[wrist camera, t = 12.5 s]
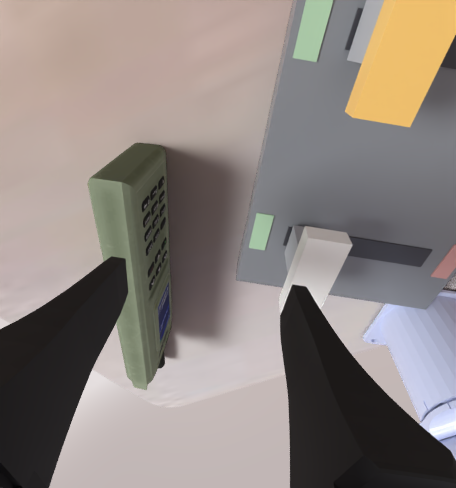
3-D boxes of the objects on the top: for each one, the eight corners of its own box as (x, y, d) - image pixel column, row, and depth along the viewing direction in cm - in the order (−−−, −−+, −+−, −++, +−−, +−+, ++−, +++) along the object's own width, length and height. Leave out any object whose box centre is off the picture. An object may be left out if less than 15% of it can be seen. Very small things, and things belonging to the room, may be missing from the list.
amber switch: (439, -53, 12) (516, -90, 8) (374, 107, 15) (409, 127, 12) (381, -63, 12) (436, -107, 8) (329, 99, 15) (352, 117, 12)
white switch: (334, 207, 19) (352, 245, 15) (306, 275, 22) (316, 318, 19) (298, 201, 19) (308, 237, 15) (275, 270, 22) (280, 312, 19)
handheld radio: (173, 145, 20) (176, 356, 34) (126, 139, 20) (149, 351, 34) (138, 184, 14) (159, 415, 29) (73, 176, 14) (127, 410, 29)
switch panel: (674, -57, 13) (739, -72, 11) (414, 292, 26) (426, 310, 24) (319, -126, 12) (330, -152, 11) (237, 264, 25) (235, 281, 23)
